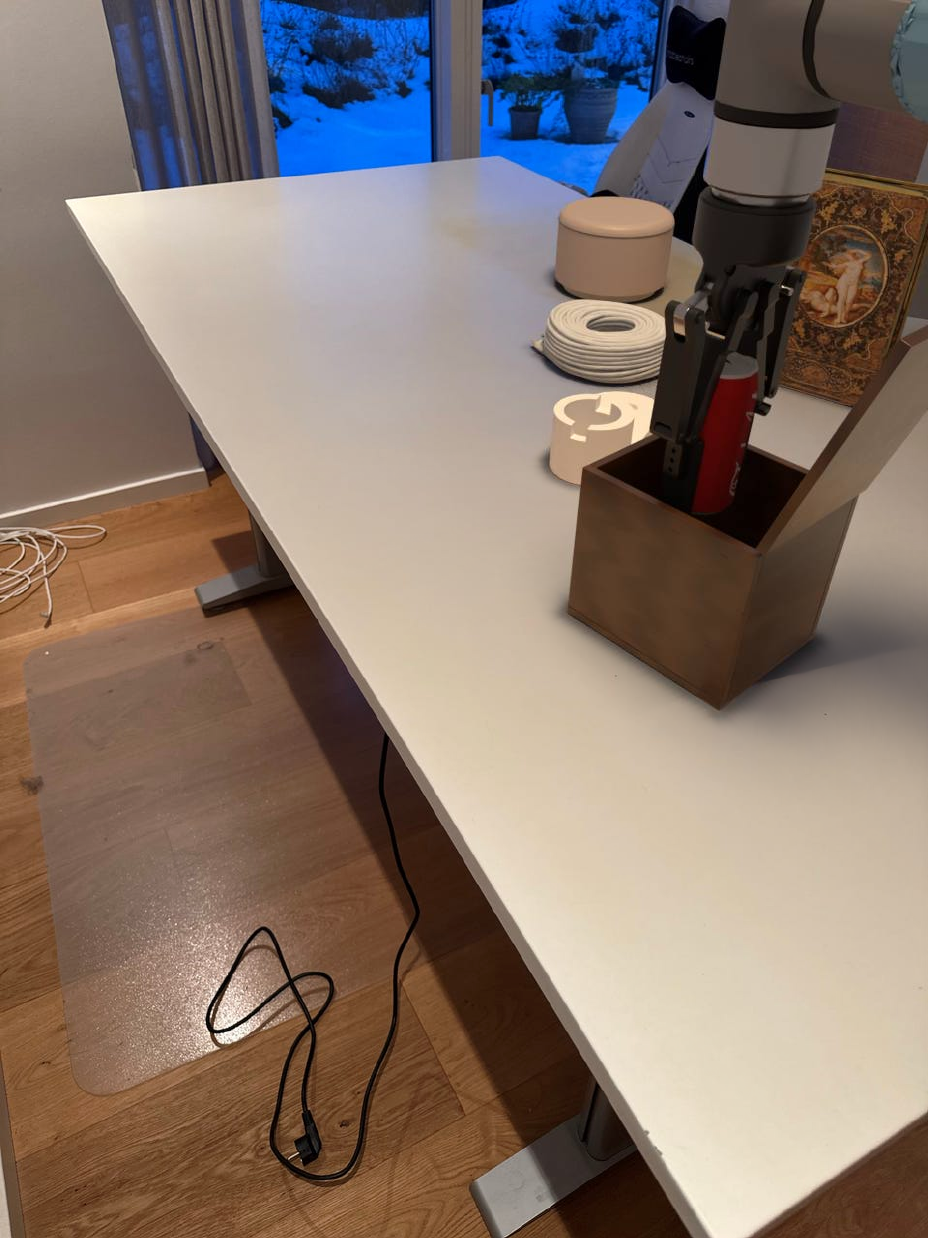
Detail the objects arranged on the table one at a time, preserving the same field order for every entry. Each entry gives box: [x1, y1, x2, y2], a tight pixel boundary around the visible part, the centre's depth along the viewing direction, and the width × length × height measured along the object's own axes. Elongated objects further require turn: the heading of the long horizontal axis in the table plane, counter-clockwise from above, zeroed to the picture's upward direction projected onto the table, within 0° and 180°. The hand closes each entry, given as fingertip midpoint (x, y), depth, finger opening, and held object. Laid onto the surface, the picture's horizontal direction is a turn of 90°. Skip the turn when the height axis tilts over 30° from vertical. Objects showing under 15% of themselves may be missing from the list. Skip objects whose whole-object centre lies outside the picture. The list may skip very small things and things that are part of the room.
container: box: [554, 196, 676, 303], centre depth 146 cm, size 18×18×12 cm
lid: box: [756, 324, 928, 556], centre depth 61 cm, size 17×14×1 cm
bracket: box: [549, 390, 655, 486], centre depth 105 cm, size 20×9×7 cm, turn 152°
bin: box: [567, 434, 860, 711], centre depth 77 cm, size 17×14×15 cm
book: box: [765, 167, 928, 407], centre depth 113 cm, size 16×6×25 cm, turn 51°
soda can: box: [691, 351, 758, 515], centre depth 71 cm, size 6×6×12 cm
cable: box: [530, 299, 666, 384], centre depth 125 cm, size 18×18×6 cm
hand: (698, 496), depth 75 cm, fingers closed on soda can, 5 cm apart
